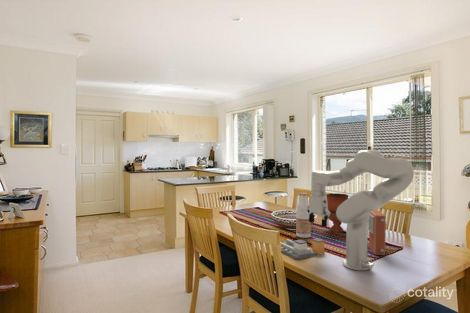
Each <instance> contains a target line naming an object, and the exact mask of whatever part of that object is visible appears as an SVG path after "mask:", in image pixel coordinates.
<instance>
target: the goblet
mask: <svg viewBox="0 0 470 313" xmlns="http://www.w3.org/2000/svg"><path fill="white" fill-rule="evenodd" d="M325 196H326V197H327V203H328V210H329V211H330V216H329V218H328V219H327V220H329V221H331V222H332V226H331V227H330V228H329V230H330V231H331V232H335V233H342V232H343V231H344V228H343V227H342V222H341V221H339V220H338V218H337V215H336V211H337V208H338V206H339V205H340V204H342V203H343V202H344V201H345V200H347V199H348V198H349V194H346V193H337V192H336V193H326V195H325ZM326 215H327V214H326Z"/></svg>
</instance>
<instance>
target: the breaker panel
mask: <svg viewBox="0 0 470 313" xmlns="http://www.w3.org/2000/svg"><path fill="white" fill-rule="evenodd" d="M294 241H295V240H292V239H289V238H287V239H286V240H285V241H284V242H281V241H280V244H281V250H282V252H281V253H283V254H285V255H287V256H289V257H290V258H293V259H295V260H301V259H306V258H310V257H314V256H317V254H316V252H313V251H312V248H310V247H308V246H307V249H305V250H301V251H299V250H297V249H295V248H294Z"/></svg>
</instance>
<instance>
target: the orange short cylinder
mask: <svg viewBox="0 0 470 313" xmlns="http://www.w3.org/2000/svg"><path fill="white" fill-rule="evenodd" d="M311 251H313V252H316V255H322V254H324V253H325V240H324V239H322V238H319V237H317V238H316V237H315V238H312V239H311Z"/></svg>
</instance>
